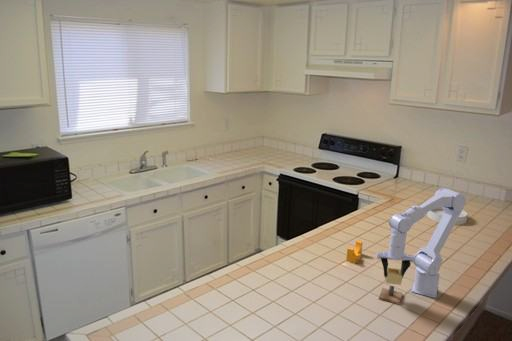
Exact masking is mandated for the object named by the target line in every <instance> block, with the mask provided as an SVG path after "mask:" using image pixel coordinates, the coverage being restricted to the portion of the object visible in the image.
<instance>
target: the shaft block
mask: <svg viewBox="0 0 512 341" xmlns="http://www.w3.org/2000/svg"><path fill="white" fill-rule="evenodd" d="M388 288H389V289H388ZM388 288H385V287H382V288H381V291H380V293H379V294H378V295H379V296H378V300H381V301H384V302H387V303H392V304H396V305H400V303H401V301H402V298H403V292H401V291H397V290H395V286H393V285H390V286H389V287H388Z"/></svg>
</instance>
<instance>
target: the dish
mask: <svg viewBox="0 0 512 341" xmlns="http://www.w3.org/2000/svg"><path fill="white" fill-rule="evenodd" d="M426 215H427V217H428V219H430V220H432V221H434V222H437V223H439V222H440V220H441V219H442V217H443V215H444V209H443V207H442V206H439V207H437V208H435V209H433V210H431V211H429V212H427V213H426ZM467 216H468V213H467V211H465V210H464V209H463V210H462V212H461V214H460V216H459V217H458V219H457V221H456V223H455V225H454V226H458V225H459V226H460V225H465V224H466V223H467V221H468V220H467Z"/></svg>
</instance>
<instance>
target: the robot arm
mask: <svg viewBox="0 0 512 341" xmlns="http://www.w3.org/2000/svg"><path fill="white" fill-rule="evenodd" d="M466 204H467V198H466V196H465V194H464V193H461V192H458V191H456V190H455V191H454V190H453V189H449V188H447V187H445V186H443V187H441V188H439V189H438V190H436V191H435V194H434V195H433V196H431V197H430V198H429V199H427V200H426V201H424V202H423V203H422V204H420V205H412V206H411V207H409V208H408V209H406V210H405V211H403V212H401V213H396V214H393V215H391V217H390V219H389V220H388V225H389V227H390V230H389V231H390V237H389V246H388V251H385V252H376V256H375V258H376V259H377V260H380V262H381V265H382V267H383V277H384V278H385V277H386V276H387V268H389V267H388V266H389V260H390V261H392V260H393V261H398V262H399V261H400V262H401V266H400V271H401V273H402V279H403V278H404V276H405V274H406V272H407V270H408V269H409V268H410V267H411V262H412V263H413V265H414V268H415V274H414V282H413V284H412V287H411V292H412V293H415V294H418V295H422V296H427V297H430V298H435V299H436V298H437V293H438V292H439V282H440V276H441V274H440V273H439V271H440V270H441V264H442V262H443V257H442V255H441V251H442V249H443V247H444V246H445V243H446V242H447V240H448V238H449V236H450V234H451V232H452V231H453V229H454V227H455V226H456V225H455V223H456V221H457V219H458V217H459V216H460V214H461V212H462V210H464V208H465V207H466ZM439 206H442V207H443V209H444V215H443V217H442V219H441V220H440V222H438V225H437V226H436V228H435V230H434V232H433V234H432V236H431V238H430V240H429V241H428V243H427V245H426V246H424V247H420V248H419V250H418V251H417V253H415V254H414V255H411V254H406V253H405V249H406V240H407V234H408V232H409V231H410V230H411V228H412V227H413V225H415V224H416V223H418V222H419V221H421V220H422V219H424V218H425V214H428V212H429V211H431V210H433V209H435V208H437V207H439Z"/></svg>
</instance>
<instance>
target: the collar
mask: <svg viewBox="0 0 512 341" xmlns="http://www.w3.org/2000/svg"><path fill="white" fill-rule="evenodd" d="M384 279H385V280H384V281H385V283H386V284H391V285H399V286H401V285H402V281H403V278H402V273H401V268H394V267H387V276H386V277H384Z"/></svg>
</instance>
